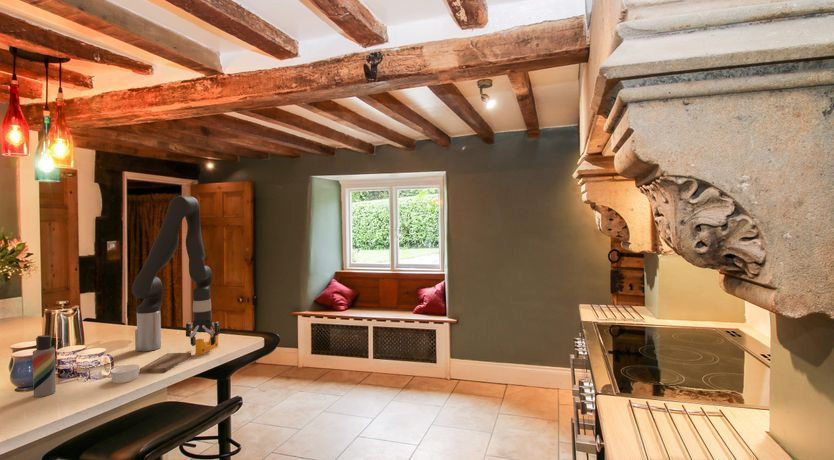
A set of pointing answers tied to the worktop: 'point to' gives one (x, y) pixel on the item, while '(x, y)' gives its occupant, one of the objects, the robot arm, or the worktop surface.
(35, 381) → the lotion bottle
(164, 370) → the bolt plate
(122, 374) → the ramekin
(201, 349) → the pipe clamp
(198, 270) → the robot arm
